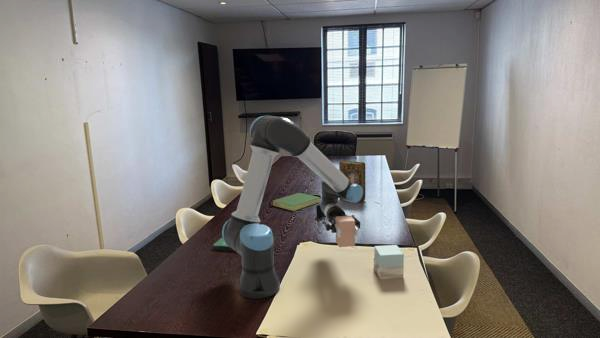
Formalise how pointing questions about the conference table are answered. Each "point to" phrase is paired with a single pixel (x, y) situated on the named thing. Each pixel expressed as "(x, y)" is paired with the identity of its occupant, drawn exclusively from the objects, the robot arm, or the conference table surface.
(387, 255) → the tower upper block
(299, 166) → the conference table surface
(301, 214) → the conference table surface
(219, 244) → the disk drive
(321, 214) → the digital camera
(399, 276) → the tower base block
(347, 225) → the tall block
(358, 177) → the book
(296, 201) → the hardcover book
